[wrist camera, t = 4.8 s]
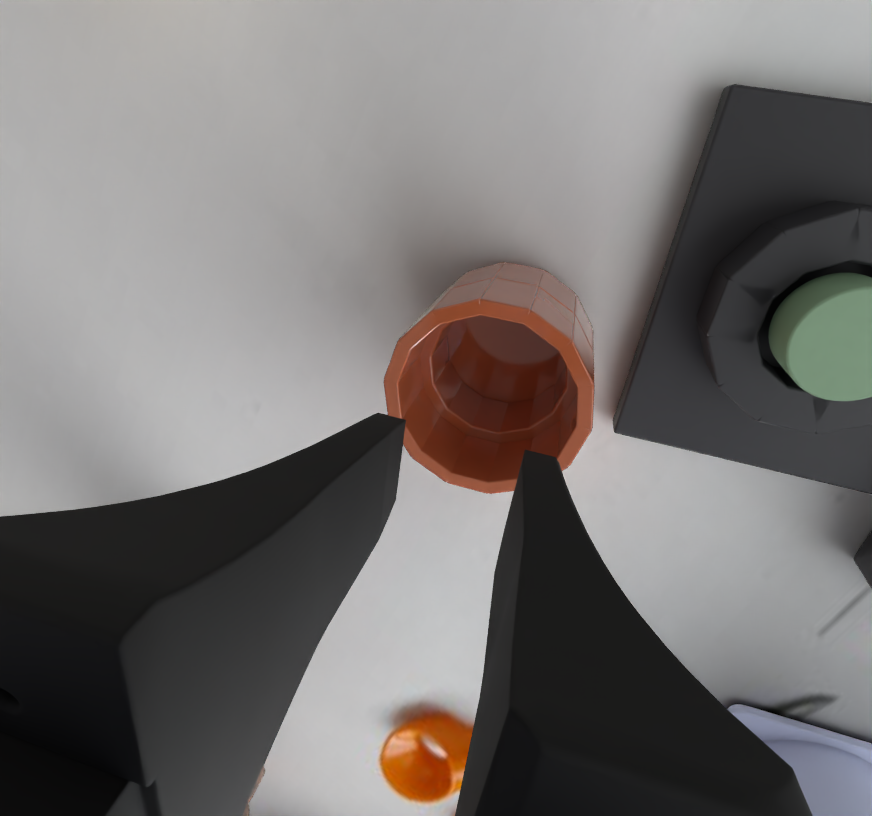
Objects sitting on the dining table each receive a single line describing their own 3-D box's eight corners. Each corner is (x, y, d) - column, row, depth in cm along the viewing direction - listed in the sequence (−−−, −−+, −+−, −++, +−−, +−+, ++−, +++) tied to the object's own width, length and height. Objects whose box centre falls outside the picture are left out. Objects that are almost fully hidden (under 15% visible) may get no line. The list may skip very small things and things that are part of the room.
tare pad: (864, 480, 18) (902, 528, 15) (612, 421, 19) (615, 458, 17) (1078, 135, 13) (1177, 135, 11) (724, 86, 14) (747, 77, 12)
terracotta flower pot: (570, 429, 19) (565, 515, 15) (421, 394, 20) (374, 464, 16) (615, 279, 17) (623, 329, 12) (441, 245, 18) (393, 280, 13)
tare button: (861, 388, 14) (889, 414, 13) (749, 364, 15) (766, 387, 14) (919, 284, 13) (957, 301, 12) (796, 261, 14) (818, 275, 12)
